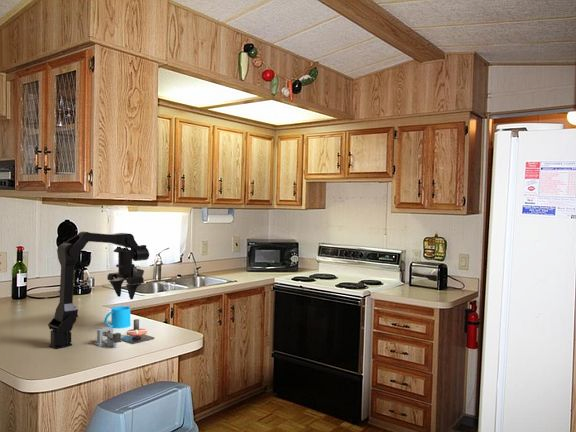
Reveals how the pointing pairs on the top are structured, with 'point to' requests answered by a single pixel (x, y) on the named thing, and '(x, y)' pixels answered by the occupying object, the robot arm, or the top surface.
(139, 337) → the wheel mount
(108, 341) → the eye bracket
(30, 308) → the top surface
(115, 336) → the hook rod
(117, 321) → the mug
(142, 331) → the handwheel
